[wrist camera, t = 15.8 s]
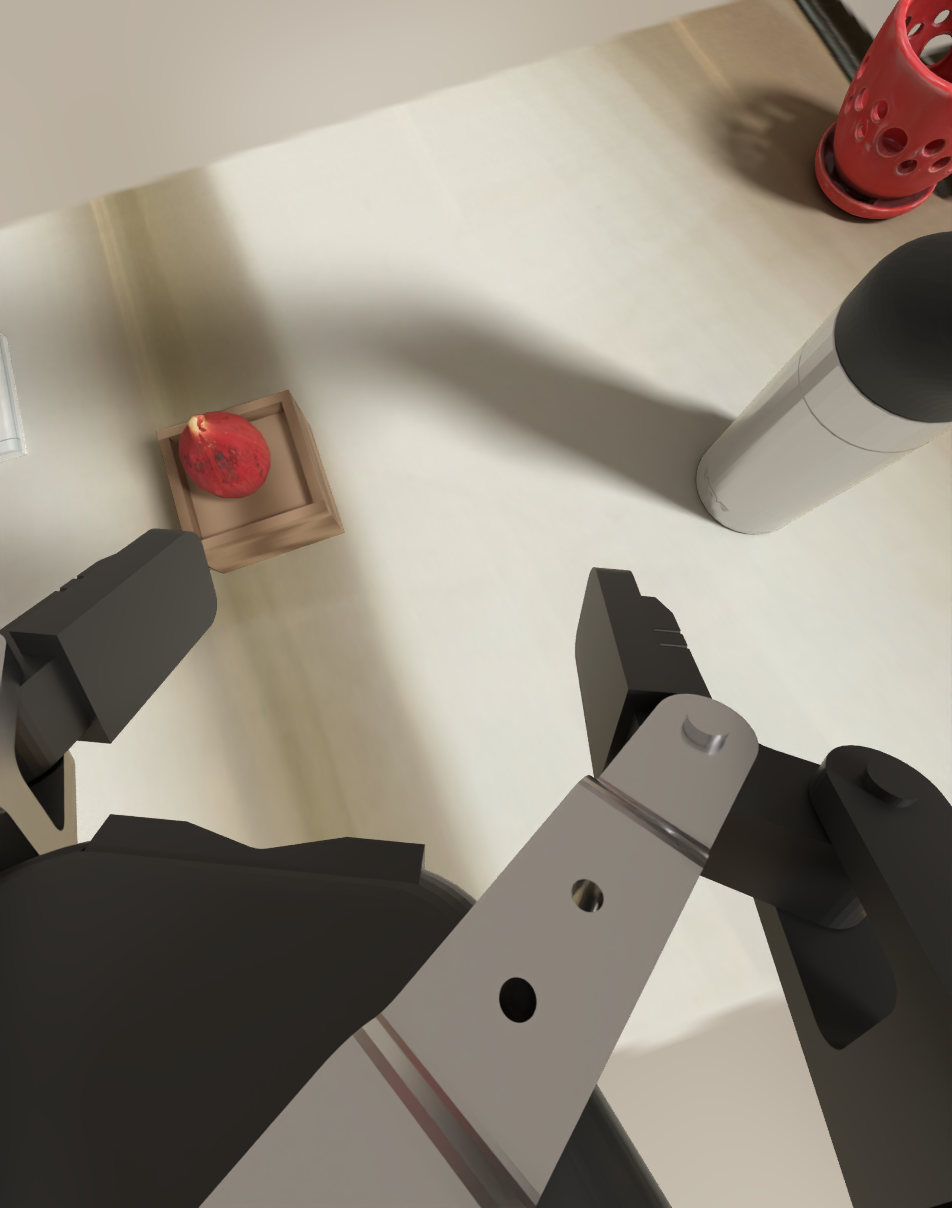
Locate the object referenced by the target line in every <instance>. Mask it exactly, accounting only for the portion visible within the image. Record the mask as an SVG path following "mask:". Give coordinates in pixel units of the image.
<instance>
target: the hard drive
mask: <svg viewBox="0 0 952 1208" xmlns="http://www.w3.org/2000/svg"><path fill="white" fill-rule="evenodd" d="M24 455H27V450H26V444H25V438H24V432H23V427H22V421H21V415H20V409H19V403H18V398H17V392H16V386H15V381H14V375H13V369H12V363H11V358H10V352H9V346H8V341H7V337H6V336H4V335H3V334H2V333H1V332H0V462H3V461H7V460H10V459H13V458H17V457H20V456H24Z"/></svg>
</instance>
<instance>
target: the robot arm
mask: <svg viewBox="0 0 952 1208" xmlns="http://www.w3.org/2000/svg"><path fill="white" fill-rule="evenodd" d="M950 429H952V232H941V233H936V234H931V235H927V236H923V237H920V238H917V239H915V240H913V241H910V242H908V243H906V244H904V245H902V246H900V247H899V248H897V249H896V250H894V251H893V252H892V253H890V254H889V255H887V256H886V257H884V258H883V259H882V260H881V261H880V262H879V263H878V264H877V265H876V266H875V267H874V268H873V269H872V270H871V271H870V272H869V273H868V274H867V275H866V276H865V277H864V278H863V279H862V280H861V282H860V283H859V284H858V285H857V286H856V287H855V288H854V289H853V290H852V292H851V293H850V294H849V295H848V296H847V297H846V298H845V299H844V300H843V301H842V303H841V304H840V305H839V306H838V307H837V308H836V309H835V310H834V311H833V313H832V314H831V315H830V316H829V317H828V318H827V319H826V320H825V321H824V322H823V324H822V325H821V326H820V327H819V328H818V329H817V330H816V331H815V333H814V334H813V335H812V336H811V337H810V338H809V339H808V340H807V341H806V343H805V344H804V345H803V346H802V347H801V348H800V349H799V350H798V351H797V352H796V354H795V355H794V356H793V357H792V358H791V359H790V360H789V361H788V362H787V363H786V365H785V366H784V367H783V368H782V369H781V370H780V371H779V372H778V373H777V374H776V376H775V377H774V378H773V379H772V380H771V381H770V382H769V383H768V384H767V385H766V387H765V388H764V389H763V390H762V391H761V392H760V393H759V394H758V395H757V396H756V398H755V399H754V400H753V401H752V402H751V403H750V404H749V405H748V406H747V407H746V409H745V410H744V411H743V412H742V413H741V414H740V415H739V416H738V417H737V418H736V420H735V421H734V422H733V423H732V424H731V425H730V426H729V427H728V428H727V429H726V430H725V431H724V433H723V434H722V435H721V436H720V437H719V438H718V439H717V440H716V441H715V442H714V444H713V445H712V446H711V447H710V448H709V449H708V450H707V451H706V453H705V454H704V456H703V457H702V459H701V460H700V463H699V466H698V469H697V477H696V482H697V490H698V493H699V496H700V499H701V501H702V503H703V504H704V506H705V508H706V509H707V511H708V512H709V513H710V514H711V515H712V516H713V517H714V518H715V519H716V520H717V521H719V522H720V523H721V524H723V525H724V526H726V527H728V528H730V529H732V530H734V531H738V532H742V533H746V534H764V533H770V532H772V531H775V530H778V529H780V528H782V527H783V526H785V525H787V524H789V523H790V522H792V521H794V520H795V519H797V518H799V517H801V516H802V515H804V514H806V513H808V512H809V511H811V510H813V509H815V508H816V507H818V506H820V505H822V504H823V503H825V502H827V501H829V500H830V499H832V498H834V497H835V496H837V495H839V494H841V493H842V492H844V491H846V490H847V489H849V488H851V487H853V486H854V485H856V484H858V483H859V482H861V481H863V480H865V479H866V478H868V477H870V476H872V475H873V474H875V473H877V472H878V471H880V470H882V469H884V468H885V467H887V466H889V465H890V464H892V463H894V462H896V461H897V460H899V459H901V458H903V457H904V456H906V455H908V454H909V453H911V452H913V451H915V450H916V449H918V448H920V447H921V446H923V445H925V444H927V443H928V442H930V441H931V440H933V439H935V438H936V437H938V436H940V435H942V434H943V433H945V432H947V431H948V430H950ZM216 611H217V598H216V593H215V589H214V586H213V582H212V578H211V574H210V570H209V567H208V563H207V559H206V555H205V551H204V548H203V544H202V541H201V539H200V538H199V536H198V535H197V534H196V533H194V532H191V531H179V530H168V529H151V530H149V531H147V532H146V533H145V534H143V535H142V536H140V537H139V538H138V539H136V540H135V541H133V542H132V543H131V544H129V545H128V546H126V547H125V548H124V549H122V550H121V551H119V552H118V553H117V554H114V555H112V556H109V557H107V558H105V559H102V560H100V561H98V562H96V563H95V564H93V565H92V566H90V567H89V568H88V569H86V570H85V571H83V572H82V573H80V574H79V575H78V576H77V579H72V580H70V581H69V582H68V583H66V584H65V585H63V586H62V587H61V588H60V591H55V592H53V593H52V594H51V595H49V596H48V597H46V598H45V599H43V600H42V601H41V602H39V603H38V604H36V605H35V606H33V607H32V608H31V609H29V610H28V611H26V612H25V613H24V614H22V615H21V616H19V617H18V618H16V619H15V620H14V621H12V622H11V623H9V624H8V625H6V626H5V627H4V628H2V629H1V630H0V1208H672V1207H671V1205H670V1204H669V1202H668V1200H667V1199H666V1197H665V1196H664V1194H663V1192H662V1190H661V1189H660V1187H659V1186H658V1184H657V1182H656V1181H655V1179H654V1177H653V1176H652V1174H651V1172H650V1171H649V1169H648V1167H647V1166H646V1164H645V1163H644V1161H643V1159H642V1158H641V1156H640V1154H639V1153H638V1151H637V1149H636V1148H635V1146H634V1144H633V1143H632V1141H631V1140H630V1138H629V1136H628V1135H627V1133H626V1131H625V1130H624V1128H623V1126H622V1125H621V1123H620V1121H619V1120H618V1118H617V1117H616V1115H615V1113H614V1112H613V1110H612V1109H611V1107H610V1105H609V1103H608V1102H607V1100H606V1098H605V1097H604V1095H603V1094H602V1092H601V1090H600V1089H599V1087H598V1085H597V1081H598V1079H599V1077H600V1075H601V1073H602V1071H603V1069H604V1067H605V1065H606V1063H607V1061H608V1059H609V1057H610V1055H611V1053H612V1051H613V1049H614V1047H615V1045H616V1043H617V1041H618V1039H619V1037H620V1035H621V1033H622V1031H623V1029H624V1027H625V1025H626V1023H627V1021H628V1019H629V1017H630V1015H631V1013H632V1011H633V1009H634V1007H635V1005H636V1003H637V1001H638V999H639V997H640V995H641V993H642V991H643V989H644V987H645V985H646V983H647V981H648V979H649V977H650V975H651V973H652V970H653V968H654V966H655V964H656V962H657V960H658V958H659V956H660V954H661V952H662V950H663V948H664V946H665V944H666V942H667V940H668V938H669V936H670V934H671V932H672V930H673V928H674V926H675V924H676V922H677V920H678V918H679V916H680V914H681V912H682V910H683V908H684V906H685V904H686V902H687V900H688V898H689V896H690V894H691V892H692V890H693V888H694V886H695V884H696V882H697V880H698V878H699V876H703V877H705V878H708V879H710V880H713V881H715V882H717V883H720V884H722V885H725V886H727V887H730V888H732V889H734V890H737V891H739V892H742V893H744V894H746V895H749V896H751V897H753V898H754V901H755V904H756V908H757V911H758V914H759V917H760V920H761V923H762V926H763V929H764V932H765V935H766V938H767V942H768V945H769V948H770V951H771V954H772V957H773V960H774V963H775V966H776V969H777V973H778V976H779V979H780V982H781V985H782V988H783V991H784V994H785V997H786V1000H787V1003H788V1007H789V1010H790V1013H791V1016H792V1019H793V1022H794V1025H795V1028H796V1031H797V1034H798V1037H799V1041H800V1044H801V1047H802V1050H803V1053H804V1056H805V1059H806V1062H807V1065H808V1068H809V1072H810V1075H811V1078H812V1081H813V1084H814V1087H815V1090H816V1093H817V1096H818V1099H819V1103H820V1105H821V1109H822V1112H823V1115H824V1118H825V1121H826V1124H827V1127H828V1130H829V1134H830V1137H831V1140H832V1143H833V1146H834V1149H835V1152H836V1155H837V1158H838V1161H839V1165H840V1167H841V1170H842V1174H843V1177H844V1180H845V1183H846V1186H847V1189H848V1192H849V1195H850V1199H851V1202H852V1205H853V1207H854V1208H952V806H951V805H950V803H949V802H948V801H947V799H946V798H945V797H944V796H943V794H942V793H941V792H940V791H939V790H938V788H937V787H936V786H935V785H934V784H932V783H931V782H930V781H929V780H928V779H927V778H926V777H925V776H923V775H922V774H921V773H920V772H918V771H917V770H915V769H914V768H912V767H911V766H909V765H908V764H906V763H904V762H902V761H901V760H899V759H897V758H895V757H893V756H891V755H889V754H886V753H883V752H881V751H878V750H875V749H871V748H868V747H862V746H854V745H848V746H841V747H837V748H835V749H833V750H831V752H830V753H829V754H828V755H827V756H826V758H825V759H824V761H823V762H822V764H821V765H819V764H816V763H813V762H810V761H807V760H804V759H801V758H798V757H795V756H792V755H788V754H785V753H782V752H779V751H776V750H773V749H771V748H768V747H765V746H763V745H761V744H759V743H758V740H757V737H756V735H755V733H754V731H753V729H752V728H751V726H750V725H749V724H748V723H747V722H746V720H745V719H744V718H743V717H741V716H740V715H739V714H738V713H737V712H735V711H734V710H732V709H731V708H729V707H728V706H726V705H724V704H722V703H720V702H718V701H716V700H713V699H712V698H711V695H710V693H709V691H708V689H707V687H706V685H705V682H704V680H703V678H702V676H701V674H700V672H699V669H698V667H697V665H696V663H695V661H694V658H693V656H692V654H691V652H690V650H689V649H687V643H686V641H685V639H684V637H683V635H682V634H680V631H681V630H680V628H679V626H678V624H677V622H676V619H675V617H674V615H673V613H672V612H671V611H670V610H669V609H668V608H666V607H665V606H664V605H663V604H662V603H661V602H660V601H659V600H658V599H657V598H655V597H647V596H641V594H640V592H639V589H638V587H637V584H636V581H635V579H634V576H633V574H632V572H631V571H629V570H618V569H607V568H595V567H594V568H592V570H591V572H590V574H589V578H588V582H587V587H586V591H585V596H584V601H583V605H582V610H581V614H580V619H579V624H578V628H577V634H576V643H575V658H576V665H577V672H578V678H579V684H580V691H581V697H582V703H583V710H584V716H585V723H586V729H587V735H588V742H589V748H590V754H591V761H592V767H593V773H594V778H593V777H592V776H590V775H588V776H585V777H584V778H583V779H581V780H580V781H579V782H578V783H577V784H576V786H575V787H574V788H573V789H572V790H571V791H570V792H569V794H568V795H567V796H566V797H565V798H564V800H563V801H562V802H561V803H560V804H559V805H558V807H557V808H556V809H555V810H554V811H553V813H552V814H551V815H550V816H549V817H548V818H547V820H546V821H545V822H544V823H543V824H542V826H541V827H540V828H539V829H538V830H537V831H536V833H535V834H534V835H533V836H532V837H531V839H530V840H529V841H528V842H527V843H526V844H525V846H524V847H523V848H522V849H521V850H520V852H519V853H518V854H517V855H516V856H515V857H514V859H513V860H512V861H511V862H510V863H509V865H508V866H507V867H506V868H505V869H504V870H503V872H502V873H501V874H500V875H499V876H498V878H497V879H496V880H495V881H494V882H493V883H492V885H491V886H490V887H489V888H488V889H487V891H486V892H485V893H484V894H483V895H482V896H481V898H480V899H479V900H478V901H476V900H475V899H474V898H473V897H472V896H471V895H469V894H468V893H467V892H465V891H464V890H462V889H461V888H460V887H458V886H457V885H456V884H454V883H452V882H450V881H448V880H447V879H445V878H443V877H441V876H439V875H437V874H435V873H432V872H430V871H427V870H425V844H414V843H404V842H393V841H383V840H373V839H362V838H352V837H344V838H337V839H330V840H323V841H316V842H309V843H302V844H295V845H289V846H282V847H275V848H268V849H256V848H252V847H249V846H247V845H244V844H242V843H239V842H237V841H234V840H232V839H229V838H227V837H224V836H222V835H219V834H217V833H214V832H212V831H209V830H207V829H204V828H202V827H199V826H197V825H194V824H192V823H189V822H186V821H176V820H165V819H155V818H145V817H134V816H124V815H114V814H110V815H109V817H108V818H107V819H106V821H105V822H104V823H103V825H102V826H101V828H100V829H99V830H98V832H97V833H96V834H95V836H94V837H93V838H92V840H91V841H87V842H83V843H79V844H77V816H76V781H75V762H74V759H73V757H72V755H71V754H70V752H69V750H68V749H69V748H70V747H71V746H72V745H73V744H74V743H75V742H76V741H88V742H99V743H109V744H111V743H112V741H113V740H114V739H115V738H116V737H117V736H118V734H119V733H120V732H121V731H122V730H123V729H124V727H125V726H126V725H127V724H128V723H129V721H130V720H131V719H132V718H133V717H134V716H135V714H136V713H137V712H138V711H139V710H140V708H141V707H142V706H143V705H144V704H145V703H146V701H147V700H148V699H149V698H150V697H151V696H152V694H153V693H154V692H155V691H156V690H157V688H158V687H159V686H160V685H161V684H162V683H163V681H164V680H165V679H166V678H167V677H168V676H169V674H170V673H171V672H172V671H173V670H174V668H175V667H176V666H177V665H178V664H179V663H180V661H181V660H182V659H183V658H184V657H185V656H186V654H187V653H188V652H189V651H190V650H191V648H192V647H193V646H194V645H195V644H196V643H197V641H198V640H199V639H200V638H201V637H202V636H203V634H204V633H205V632H206V631H207V630H208V628H209V627H210V626H211V625H212V623H213V621H214V618H215V615H216Z"/></svg>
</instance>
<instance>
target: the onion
mask: <svg viewBox="0 0 952 1208" xmlns="http://www.w3.org/2000/svg"><path fill="white" fill-rule="evenodd" d="M178 452H179V457H180V460H181V463H182V465H183V468H184V470H185V472H186V473H187V474H188V476H189V477H190V478H191V479H192V480H193V481H194V482H195V483H196V484H197V485H198V486H199V488H200V489H202V490H205V491H207V492H209V493H211V494H214V495H216V496H218V497H221V498H243V497H245V496H248V495H250V494H253V493H255V492H256V491H257V490H258V489H259V488H260V487H261V486H262V485H263V484H264V483H265V481H266V478H267V475H268V472H269V470H270V467H271V459H270V450H269V447H268V445H267V443H266V441H265V439H264V437H263V435H262V433H261V432H260V431H259V430H258V429H257V428H255V427H254V426H253V425H252V424H251V423H250V422H249V421H248V420H247V419H246V418H244V417H242V416H240V415H236V414H232V413H228V412H224V411H217V412H207V413H204V414H202V415H200V414H197V415H193V416H191V418H190V420H189V421H188V422H187V425H186V427H185V429H184V430H183V432H182V434H181V435H180V439H179V449H178Z"/></svg>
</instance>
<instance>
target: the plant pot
mask: <svg viewBox="0 0 952 1208" xmlns="http://www.w3.org/2000/svg"><path fill="white" fill-rule="evenodd" d="M944 10H949V11H950V12H949V15H948V16H947V18H946V19H945V20H944V21H942V22H941V23H938V24H935V23H934V20H935V18H936V17H937V16H938V14H939V13H941V12H942V11H944ZM906 17H907V18H906ZM905 18H906V20H905ZM919 23H921V25H920V27H919V28H918V30H917V31H916V32H915V33H914V34H913V35H910V36H908V34H909V32H910V30H911V29H912V28H913V27H914V26H915V25H917V24H919ZM942 34H948V35H950V36H951V37H952V0H899V1H898V2H897V4H896V5H895V7H894V9H893V10H892V12H891V13H890V15H889V16H888V18H887V19H886V21H885V23H884V24H883V26H882V28H881V29H880V31H879V32H878V34H877V36H876V38H875V39H874V41H873V43H872V45H871V46H870V48H869V50H868V52H867V53H866V55H865V57H864V59H863V60H862V62H861V64H860V66H859V68H858V70H857V72H856V74H855V76H854V78H853V80H852V83H851V85H850V87H849V89H848V91H847V94H846V96H845V99H844V101H843V104H842V107H841V110H840V113H839V117H838V120H837V121H835V122H834V123H833V124H832V125H831V126H830V127H829V128H828V129H827V130H826V132H825V133H824V135H823V136H822V138H821V140H820V142H819V145H818V148H817V151H816V155H815V172H816V176H817V180H818V182H819V185H820V186H821V188H822V190H823V192H824V193H825V194H826V196H827V197H828V198H829V199H830V200H831V201H832V202H833V203H834V204H836V205H837V206H838V207H839V208H841V209H843V210H844V211H846V212H848V213H850V214H853V215H856V216H859V217H864V218H870V219H885V218H892V217H896V216H899V215H902V214H905V213H907V212H909V211H911V210H913V209H915V208H916V207H918V206H919V205H920V204H922V203H923V202H924V201H925V200H926V199H927V198H928V197H929V196H930V194H931V193H932V192H933V190H934V188H935V186H936V184H937V182H939V181H940V180H942V179H944V178H945V177H947V176H948V175H950V174H951V173H952V47H951V49H950V51H949V52H948V54H947V55H946V56H945V57H944V58H943V59H942V60H941V61H939V62H938V63H936V64H933V65H927V66H925V65H924V64H923V63H922V62H921V61H920V54H921V52H922V51H923V49H924V47H925V45H926V44H927V43H928V42H929V41H930V40H931V39H932V38H934V37H935V36H938V35H942ZM907 36H908V37H907Z"/></svg>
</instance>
